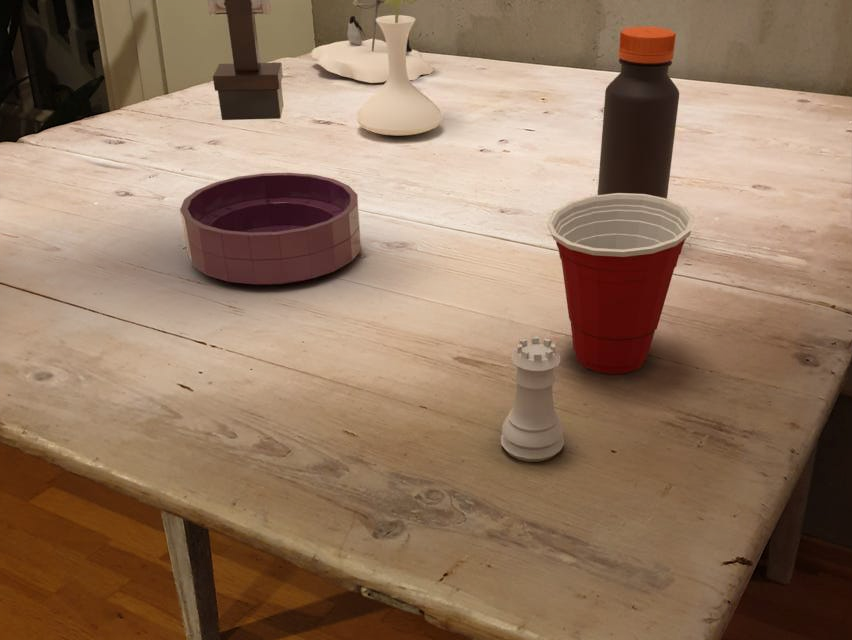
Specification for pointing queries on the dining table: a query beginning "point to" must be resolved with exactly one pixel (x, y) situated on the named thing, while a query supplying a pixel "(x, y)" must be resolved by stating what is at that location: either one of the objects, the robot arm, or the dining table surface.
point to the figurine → (366, 55)
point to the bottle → (640, 116)
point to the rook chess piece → (533, 404)
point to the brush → (247, 72)
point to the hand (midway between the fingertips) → (240, 13)
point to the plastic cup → (617, 273)
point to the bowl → (271, 228)
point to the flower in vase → (398, 87)
